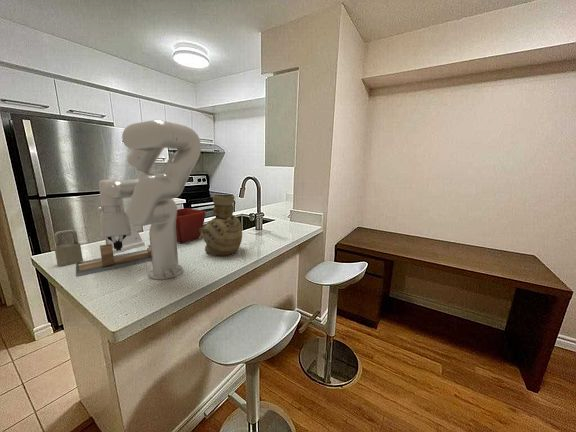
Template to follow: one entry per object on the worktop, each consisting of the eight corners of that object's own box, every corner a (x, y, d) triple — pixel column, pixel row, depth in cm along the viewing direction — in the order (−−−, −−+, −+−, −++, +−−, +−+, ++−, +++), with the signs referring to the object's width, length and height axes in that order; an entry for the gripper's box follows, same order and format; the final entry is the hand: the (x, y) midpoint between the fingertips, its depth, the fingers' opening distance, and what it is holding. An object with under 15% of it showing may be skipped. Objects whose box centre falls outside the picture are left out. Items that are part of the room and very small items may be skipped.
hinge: (111, 254, 117) (105, 235, 117) (107, 255, 120) (101, 236, 120) (145, 245, 132) (140, 227, 131) (141, 246, 134) (136, 229, 134)
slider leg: (114, 263, 103) (112, 246, 102) (103, 266, 101) (100, 247, 99) (112, 257, 110) (110, 241, 108) (101, 259, 107) (98, 242, 105)
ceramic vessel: (198, 249, 126) (194, 193, 120) (237, 245, 135) (236, 192, 129) (202, 263, 110) (198, 198, 104) (246, 256, 119) (246, 196, 113)
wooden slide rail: (164, 257, 115) (164, 255, 114) (76, 276, 94) (76, 273, 94) (157, 249, 125) (157, 247, 125) (76, 265, 104) (76, 262, 104)
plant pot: (179, 246, 131) (177, 216, 128) (159, 240, 141) (156, 212, 137) (207, 238, 147) (206, 211, 144) (187, 233, 157) (186, 207, 153)
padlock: (57, 264, 105) (50, 231, 102) (80, 259, 111) (75, 227, 108) (59, 267, 102) (53, 233, 99) (83, 261, 109) (78, 229, 106)
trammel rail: (161, 254, 115) (160, 248, 114) (79, 271, 96) (78, 263, 95) (156, 249, 122) (156, 243, 121) (79, 264, 102) (77, 257, 101)
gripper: (91, 212, 94) (97, 256, 98) (135, 208, 103) (139, 248, 107) (90, 209, 99) (96, 251, 103) (132, 206, 109) (136, 244, 113)
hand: (118, 249), depth 105 cm, fingers closed
